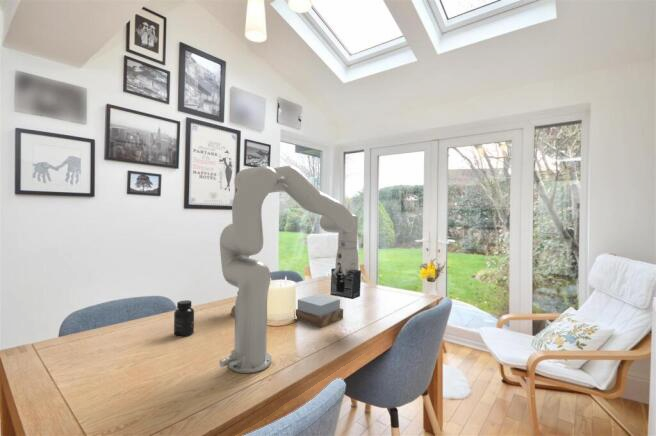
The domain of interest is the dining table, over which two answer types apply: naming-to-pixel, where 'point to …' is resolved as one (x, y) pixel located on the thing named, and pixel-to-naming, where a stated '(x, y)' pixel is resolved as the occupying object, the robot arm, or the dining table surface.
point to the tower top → (318, 304)
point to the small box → (347, 284)
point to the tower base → (319, 318)
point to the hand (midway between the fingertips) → (345, 289)
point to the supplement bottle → (184, 319)
